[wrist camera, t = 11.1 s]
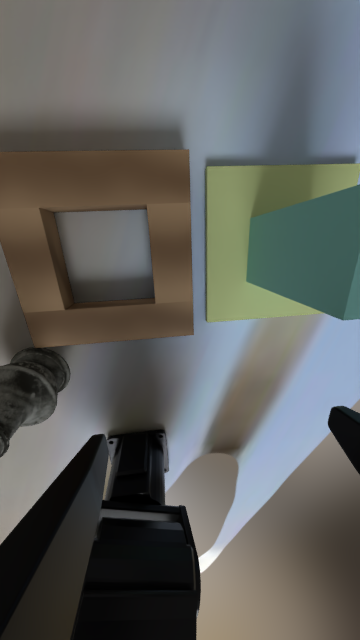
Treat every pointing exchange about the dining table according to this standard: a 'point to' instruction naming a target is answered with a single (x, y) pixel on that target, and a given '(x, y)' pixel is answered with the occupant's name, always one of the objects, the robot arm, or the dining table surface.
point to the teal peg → (310, 253)
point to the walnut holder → (96, 195)
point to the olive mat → (234, 224)
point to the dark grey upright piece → (29, 390)
